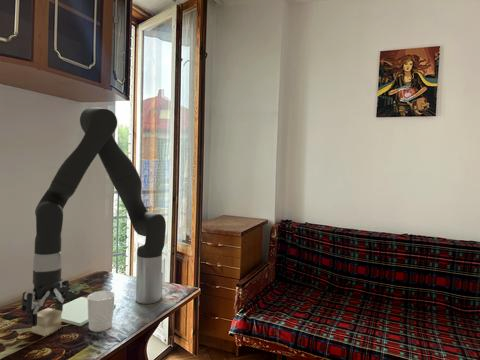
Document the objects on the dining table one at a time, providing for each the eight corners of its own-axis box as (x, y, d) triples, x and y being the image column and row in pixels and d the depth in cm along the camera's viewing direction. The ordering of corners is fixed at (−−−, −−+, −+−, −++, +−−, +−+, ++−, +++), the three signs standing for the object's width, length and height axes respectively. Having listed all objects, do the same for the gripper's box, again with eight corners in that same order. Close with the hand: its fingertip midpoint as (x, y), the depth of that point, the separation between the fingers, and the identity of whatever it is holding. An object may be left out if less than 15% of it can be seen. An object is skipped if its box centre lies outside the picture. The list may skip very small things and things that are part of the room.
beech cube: (48, 324, 108) (48, 307, 107) (61, 328, 106) (61, 311, 105) (31, 332, 103) (32, 314, 102) (45, 336, 101) (45, 318, 100)
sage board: (81, 299, 128) (81, 296, 128) (115, 307, 122) (115, 304, 122) (43, 316, 113) (43, 313, 113) (80, 326, 107) (80, 323, 107)
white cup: (82, 326, 107) (83, 295, 107) (106, 318, 113) (107, 289, 113) (93, 335, 102) (94, 302, 102) (118, 327, 108) (119, 295, 107)
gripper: (58, 259, 111) (56, 309, 112) (15, 271, 98) (14, 327, 98) (76, 262, 108) (74, 313, 109) (34, 275, 95) (33, 332, 96)
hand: (46, 319), depth 104 cm, fingers open, 8 cm apart
